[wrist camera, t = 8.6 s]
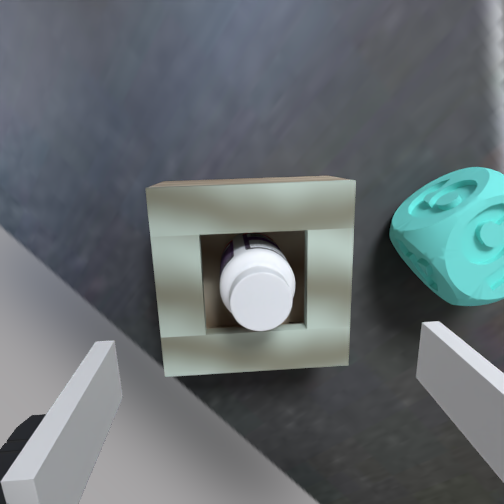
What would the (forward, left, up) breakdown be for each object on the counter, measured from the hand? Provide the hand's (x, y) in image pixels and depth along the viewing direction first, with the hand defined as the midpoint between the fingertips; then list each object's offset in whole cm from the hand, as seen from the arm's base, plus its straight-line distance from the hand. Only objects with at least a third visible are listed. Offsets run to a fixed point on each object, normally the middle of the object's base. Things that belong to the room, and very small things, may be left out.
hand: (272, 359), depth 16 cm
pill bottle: (0, 0, -17) cm, 17 cm away
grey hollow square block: (0, 0, -18) cm, 18 cm away
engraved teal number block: (-2, +17, -18) cm, 25 cm away
